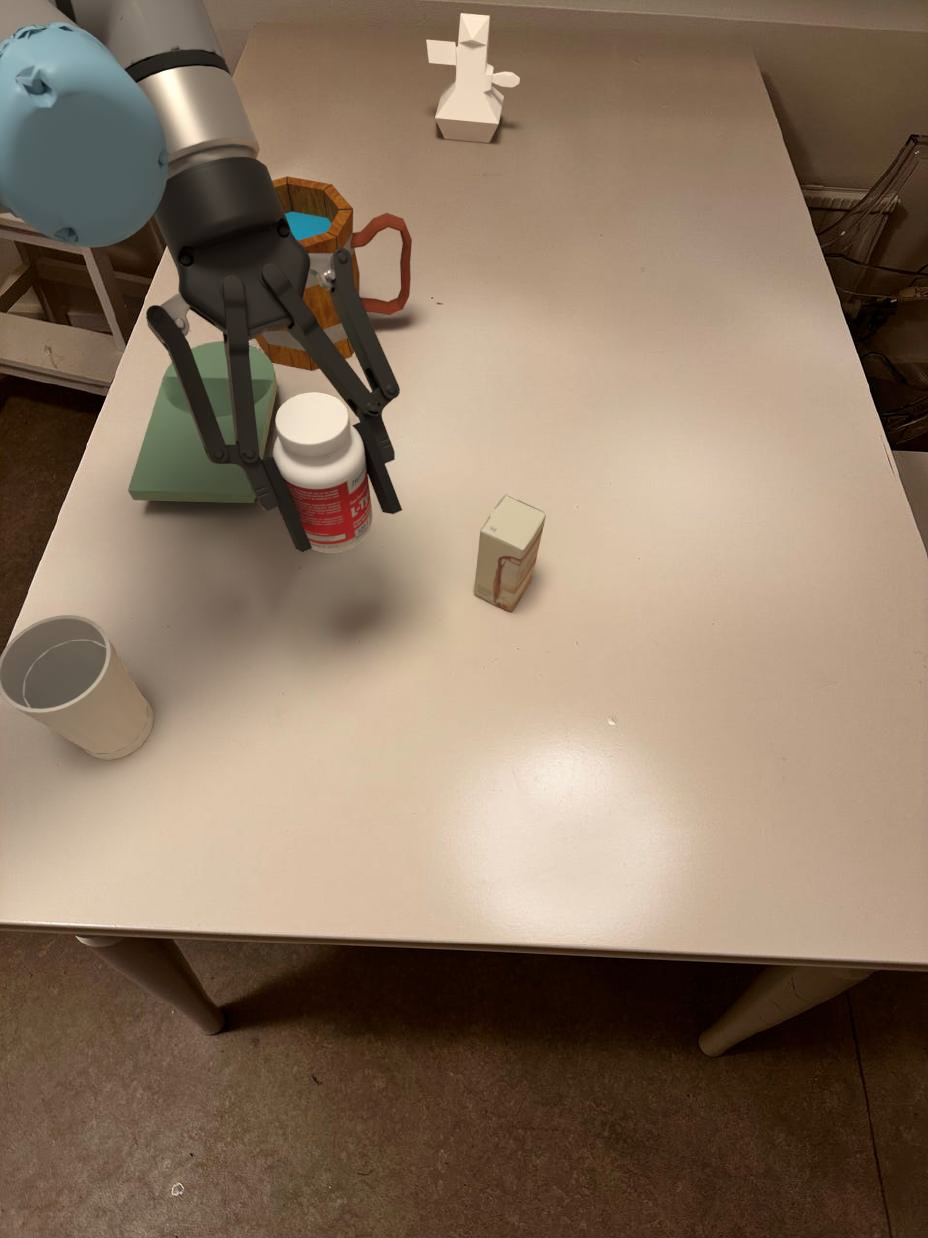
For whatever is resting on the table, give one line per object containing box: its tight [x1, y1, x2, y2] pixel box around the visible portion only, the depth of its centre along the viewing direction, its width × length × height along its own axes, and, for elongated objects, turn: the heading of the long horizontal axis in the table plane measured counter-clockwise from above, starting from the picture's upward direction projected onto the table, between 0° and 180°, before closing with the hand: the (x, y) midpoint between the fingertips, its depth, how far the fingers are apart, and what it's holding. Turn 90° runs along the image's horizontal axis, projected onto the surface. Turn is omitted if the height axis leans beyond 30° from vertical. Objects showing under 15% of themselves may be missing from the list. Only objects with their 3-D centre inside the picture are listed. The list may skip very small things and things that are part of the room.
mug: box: [254, 175, 413, 371], centre depth 84 cm, size 20×14×15 cm
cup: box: [0, 614, 155, 761], centre depth 59 cm, size 8×8×12 cm
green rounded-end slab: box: [127, 340, 278, 504], centre depth 80 cm, size 22×12×4 cm, turn 179°
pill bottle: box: [272, 391, 373, 554], centre depth 52 cm, size 6×6×11 cm
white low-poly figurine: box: [426, 12, 521, 144], centre depth 109 cm, size 8×14×14 cm, turn 83°
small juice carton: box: [473, 493, 547, 612], centre depth 68 cm, size 5×4×10 cm
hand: (348, 529), depth 52 cm, fingers closed on pill bottle, 6 cm apart
